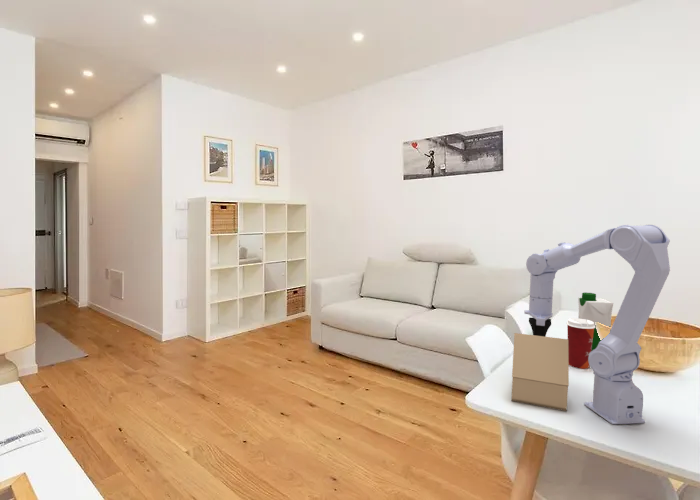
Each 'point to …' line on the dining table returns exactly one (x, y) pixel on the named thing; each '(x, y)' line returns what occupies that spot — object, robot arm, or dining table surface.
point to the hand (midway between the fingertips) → (538, 344)
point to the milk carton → (595, 312)
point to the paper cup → (579, 342)
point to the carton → (539, 393)
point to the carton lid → (541, 359)
